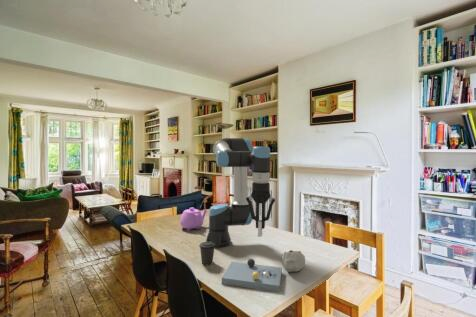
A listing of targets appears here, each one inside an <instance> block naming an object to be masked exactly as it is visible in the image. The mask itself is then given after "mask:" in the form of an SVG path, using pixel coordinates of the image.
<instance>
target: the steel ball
mask: <svg viewBox="0 0 476 317" xmlns="http://www.w3.org/2000/svg"><path fill="white" fill-rule="evenodd" d="M262 276H265V277H270V274H269V273H268V272H266V271H265V272H263V273H262Z"/></svg>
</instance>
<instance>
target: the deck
mask: <svg viewBox="0 0 476 317" xmlns="http://www.w3.org/2000/svg"><path fill="white" fill-rule="evenodd" d="M265 271H266V272H268V273H269V274H270V277H265V276H262V273H263V272H265ZM253 272H258V274H259V278H258V279H257V280H254V279H253V278H252V274H253ZM282 274H283V268H282V267H281V266H280V267H279V266H271V265H263V264H256V263H255V264H254V266H252V267H250V266H248V264H247V262H245V263H244V262H240V261H239V262H238V261H231V262H230V264H229V266H228V267H227V268H226V271H225V272H224V273H223V275H222V277H221V285H229V286H236V287H241V288H248V289H257V290H263V291H269V292H270V291H271V292H278V293H279V292H280V289H281V281H282Z"/></svg>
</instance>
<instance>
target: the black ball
mask: <svg viewBox="0 0 476 317" xmlns="http://www.w3.org/2000/svg"><path fill="white" fill-rule="evenodd" d="M246 263H247V264H248V266H250V267H252V266H254V264H256V261H255V259H253V258H249V259H247V262H246Z"/></svg>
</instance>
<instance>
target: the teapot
mask: <svg viewBox="0 0 476 317" xmlns="http://www.w3.org/2000/svg"><path fill="white" fill-rule="evenodd" d="M207 210H208V209H203V211H202V212H201V211H200V209H198V208H197V209H196V208H195V207H189V209H188V208H187V209H185V210H183V212H182V214H181V216H180V222H179V223H180V225H181V227H182V228H183V229H186V231H187V232H190V231H192V229H196V230H201V227H202V226H203V224H204V220H205V217H206V214H207Z"/></svg>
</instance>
